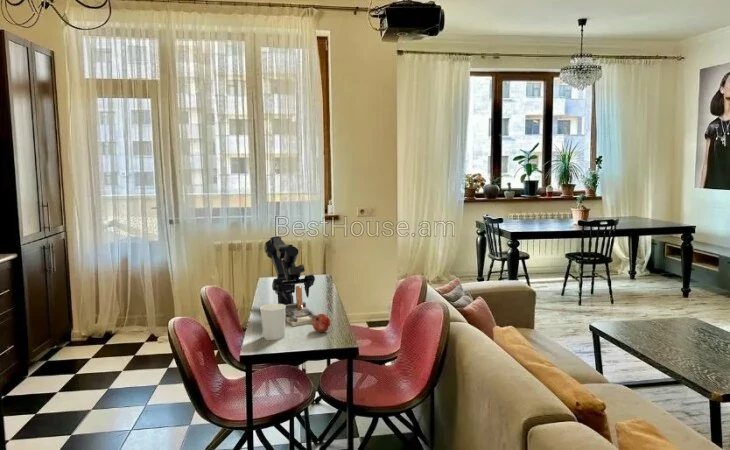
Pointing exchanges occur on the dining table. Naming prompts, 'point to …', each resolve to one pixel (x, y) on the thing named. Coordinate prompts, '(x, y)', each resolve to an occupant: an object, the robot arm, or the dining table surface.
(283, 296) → the robot arm
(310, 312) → the press frame
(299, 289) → the press jaw
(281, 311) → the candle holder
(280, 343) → the dining table surface
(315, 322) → the pomegranate
